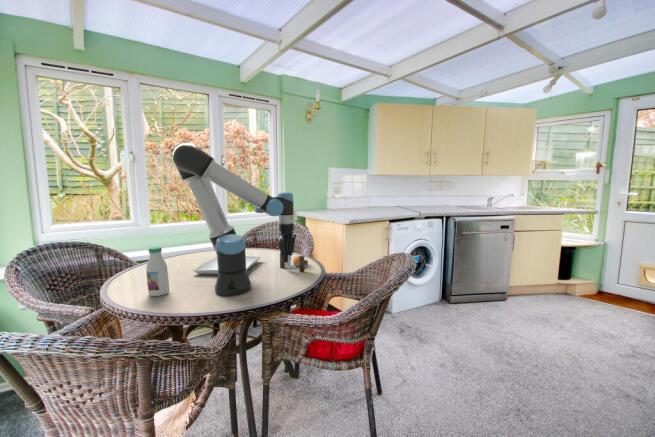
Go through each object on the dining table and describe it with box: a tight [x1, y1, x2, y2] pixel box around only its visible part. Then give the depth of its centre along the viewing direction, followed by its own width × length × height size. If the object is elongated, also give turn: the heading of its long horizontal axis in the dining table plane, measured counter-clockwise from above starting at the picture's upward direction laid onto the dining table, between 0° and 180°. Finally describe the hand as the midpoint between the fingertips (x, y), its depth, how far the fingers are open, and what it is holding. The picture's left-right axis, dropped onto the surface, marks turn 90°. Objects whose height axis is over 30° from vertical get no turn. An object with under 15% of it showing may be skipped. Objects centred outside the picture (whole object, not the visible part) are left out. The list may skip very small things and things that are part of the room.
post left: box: [279, 252, 286, 269], centre depth 158 cm, size 3×3×8 cm
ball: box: [292, 255, 300, 267], centre depth 159 cm, size 6×6×6 cm
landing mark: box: [290, 264, 309, 271], centre depth 160 cm, size 8×8×1 cm
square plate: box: [192, 255, 262, 275], centre depth 158 cm, size 27×27×4 cm
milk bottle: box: [145, 246, 170, 297], centre depth 123 cm, size 8×8×20 cm
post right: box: [298, 255, 306, 273], centre depth 151 cm, size 3×3×8 cm
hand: (287, 267), depth 152 cm, fingers closed
